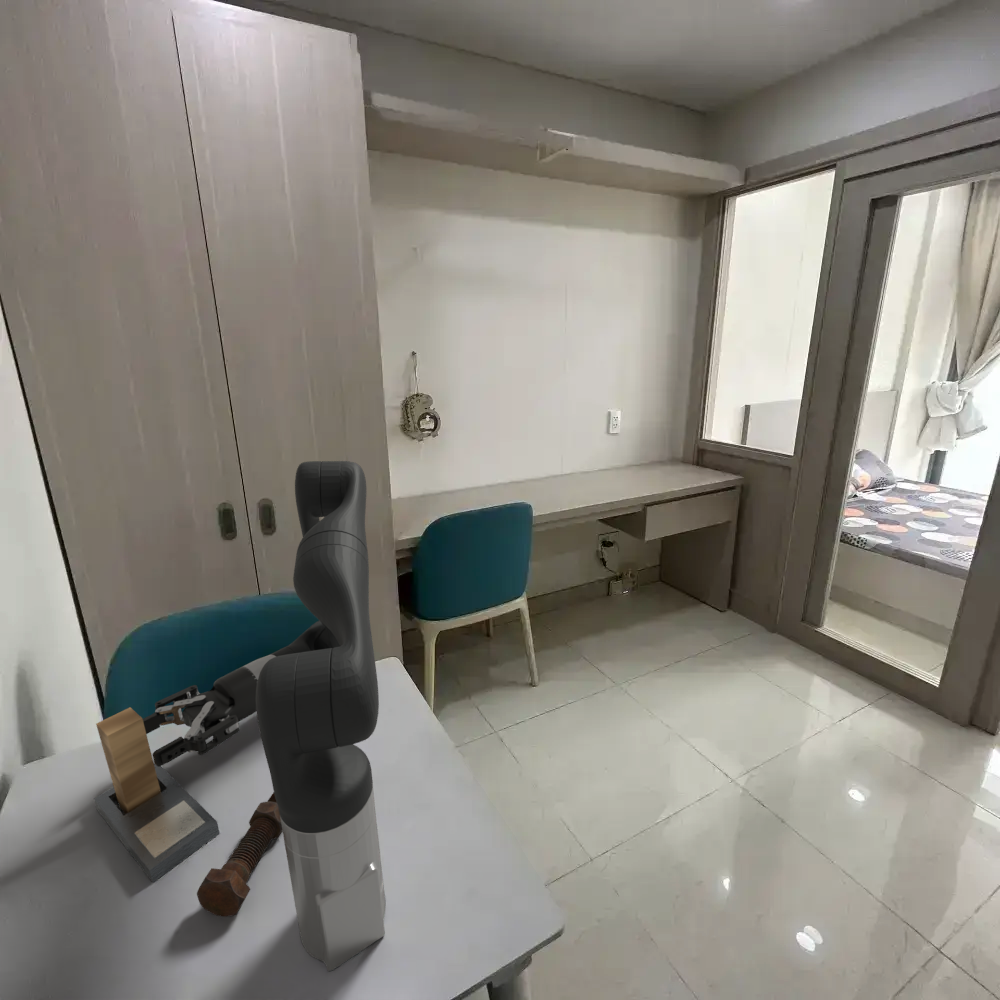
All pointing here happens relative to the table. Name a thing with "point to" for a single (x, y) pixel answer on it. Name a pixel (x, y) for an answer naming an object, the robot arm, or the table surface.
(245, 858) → the bolt
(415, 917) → the table surface
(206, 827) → the socket plate
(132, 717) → the wooden peg
